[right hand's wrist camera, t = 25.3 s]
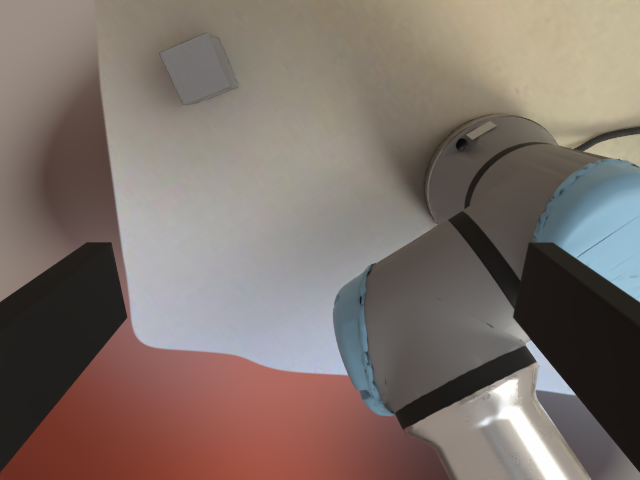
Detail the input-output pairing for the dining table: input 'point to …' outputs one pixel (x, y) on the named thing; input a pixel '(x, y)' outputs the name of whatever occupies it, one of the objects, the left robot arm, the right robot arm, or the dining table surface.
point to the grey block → (199, 69)
